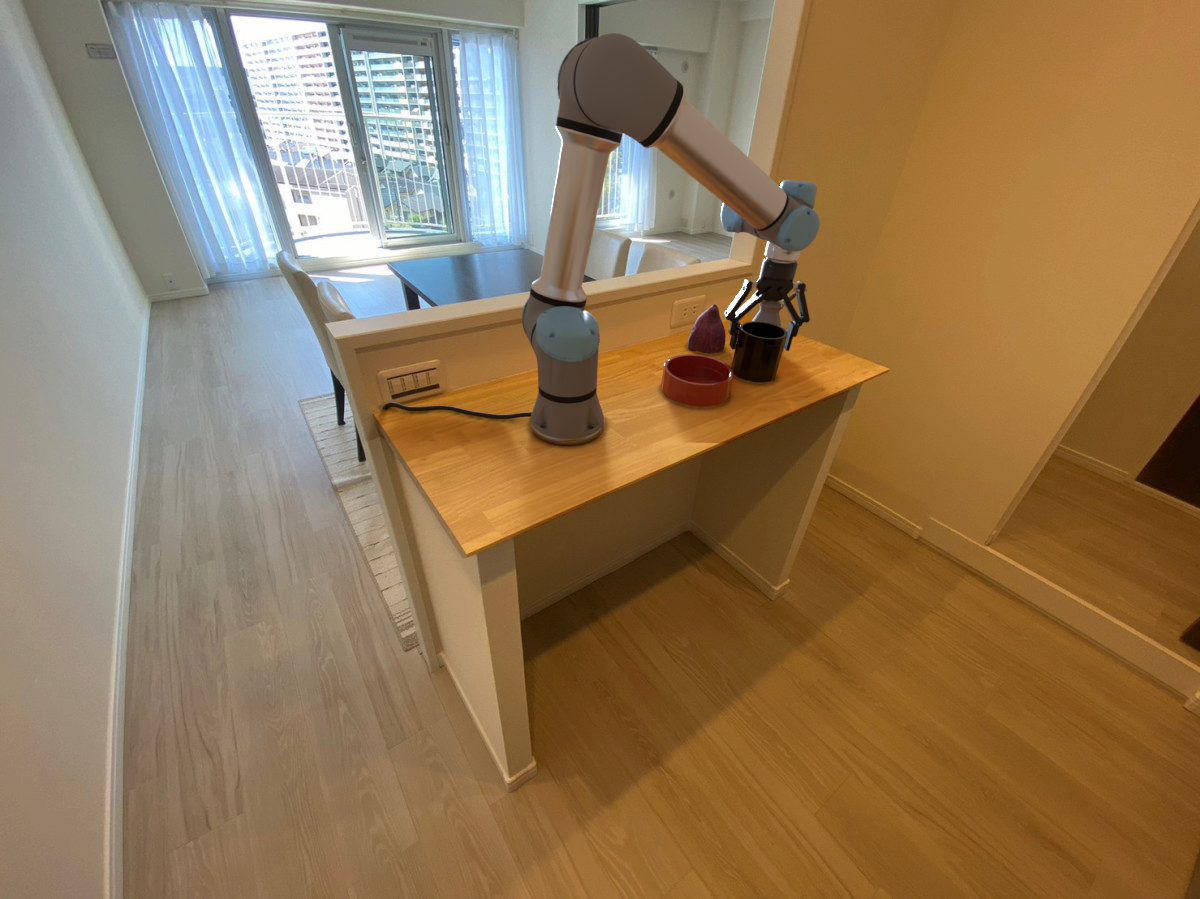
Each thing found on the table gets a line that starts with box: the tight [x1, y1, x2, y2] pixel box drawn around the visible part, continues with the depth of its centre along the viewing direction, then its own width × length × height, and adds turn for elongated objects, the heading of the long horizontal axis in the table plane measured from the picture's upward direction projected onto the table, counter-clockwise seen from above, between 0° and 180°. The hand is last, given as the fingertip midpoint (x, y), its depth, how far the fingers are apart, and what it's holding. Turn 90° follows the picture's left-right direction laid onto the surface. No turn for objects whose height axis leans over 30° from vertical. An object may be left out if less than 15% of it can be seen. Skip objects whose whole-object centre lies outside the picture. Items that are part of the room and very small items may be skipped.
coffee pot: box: [750, 288, 808, 327], centre depth 139 cm, size 21×12×15 cm, turn 130°
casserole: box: [660, 353, 734, 408], centre depth 116 cm, size 16×16×6 cm
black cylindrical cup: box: [730, 320, 788, 384], centre depth 123 cm, size 11×14×12 cm
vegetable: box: [686, 303, 726, 354], centre depth 134 cm, size 10×10×15 cm
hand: (758, 347), depth 122 cm, fingers open, 13 cm apart
